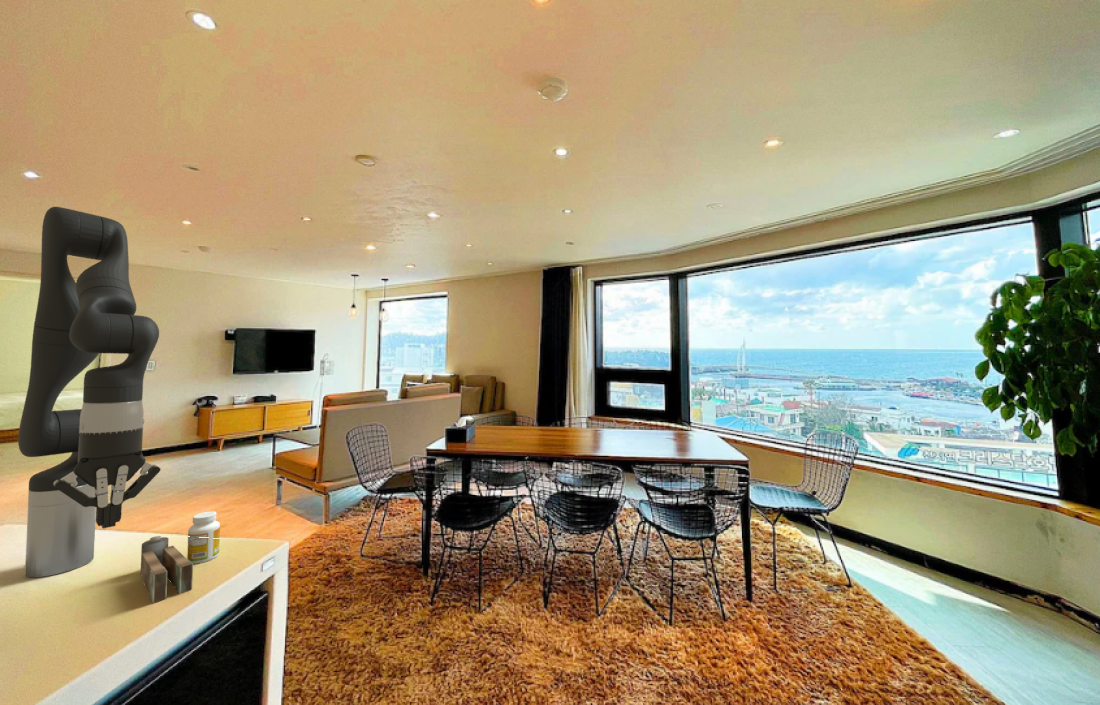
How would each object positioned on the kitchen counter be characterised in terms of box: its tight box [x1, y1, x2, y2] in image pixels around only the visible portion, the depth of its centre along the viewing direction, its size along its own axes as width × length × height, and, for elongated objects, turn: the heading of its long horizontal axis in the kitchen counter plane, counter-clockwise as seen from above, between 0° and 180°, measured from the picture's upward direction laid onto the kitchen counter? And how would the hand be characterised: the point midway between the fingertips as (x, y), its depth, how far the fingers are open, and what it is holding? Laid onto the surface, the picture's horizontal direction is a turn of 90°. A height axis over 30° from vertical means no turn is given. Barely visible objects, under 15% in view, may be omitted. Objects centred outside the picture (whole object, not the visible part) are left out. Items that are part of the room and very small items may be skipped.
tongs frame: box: [140, 535, 194, 595], centre depth 79 cm, size 18×4×7 cm, turn 56°
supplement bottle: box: [186, 511, 221, 564], centre depth 88 cm, size 5×5×10 cm
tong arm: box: [140, 551, 168, 603], centre depth 76 cm, size 13×2×5 cm, turn 53°
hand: (107, 526), depth 69 cm, fingers closed
